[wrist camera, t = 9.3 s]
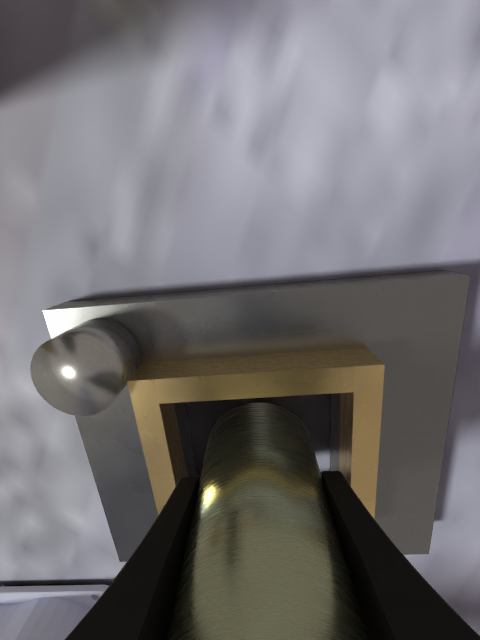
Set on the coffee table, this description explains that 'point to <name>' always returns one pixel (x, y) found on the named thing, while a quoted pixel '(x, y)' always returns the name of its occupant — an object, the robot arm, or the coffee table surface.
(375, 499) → the square peg board
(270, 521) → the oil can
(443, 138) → the coffee table surface
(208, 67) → the coffee table surface
